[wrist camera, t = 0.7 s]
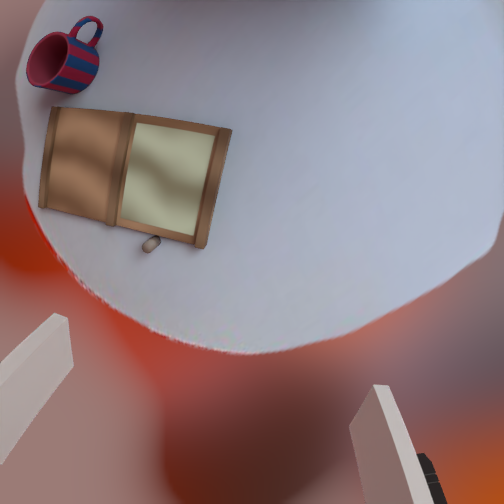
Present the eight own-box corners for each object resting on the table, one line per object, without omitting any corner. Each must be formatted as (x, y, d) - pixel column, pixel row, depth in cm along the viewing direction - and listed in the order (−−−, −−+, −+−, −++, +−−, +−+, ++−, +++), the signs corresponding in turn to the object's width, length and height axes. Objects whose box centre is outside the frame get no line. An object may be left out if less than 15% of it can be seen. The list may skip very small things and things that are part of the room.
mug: (51, 73, 30) (19, 64, 23) (104, 19, 27) (78, 0, 21) (71, 104, 31) (38, 98, 24) (128, 48, 29) (102, 30, 22)
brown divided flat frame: (59, 107, 31) (46, 105, 28) (232, 130, 32) (229, 128, 29) (45, 216, 35) (32, 221, 33) (203, 257, 36) (198, 266, 33)
